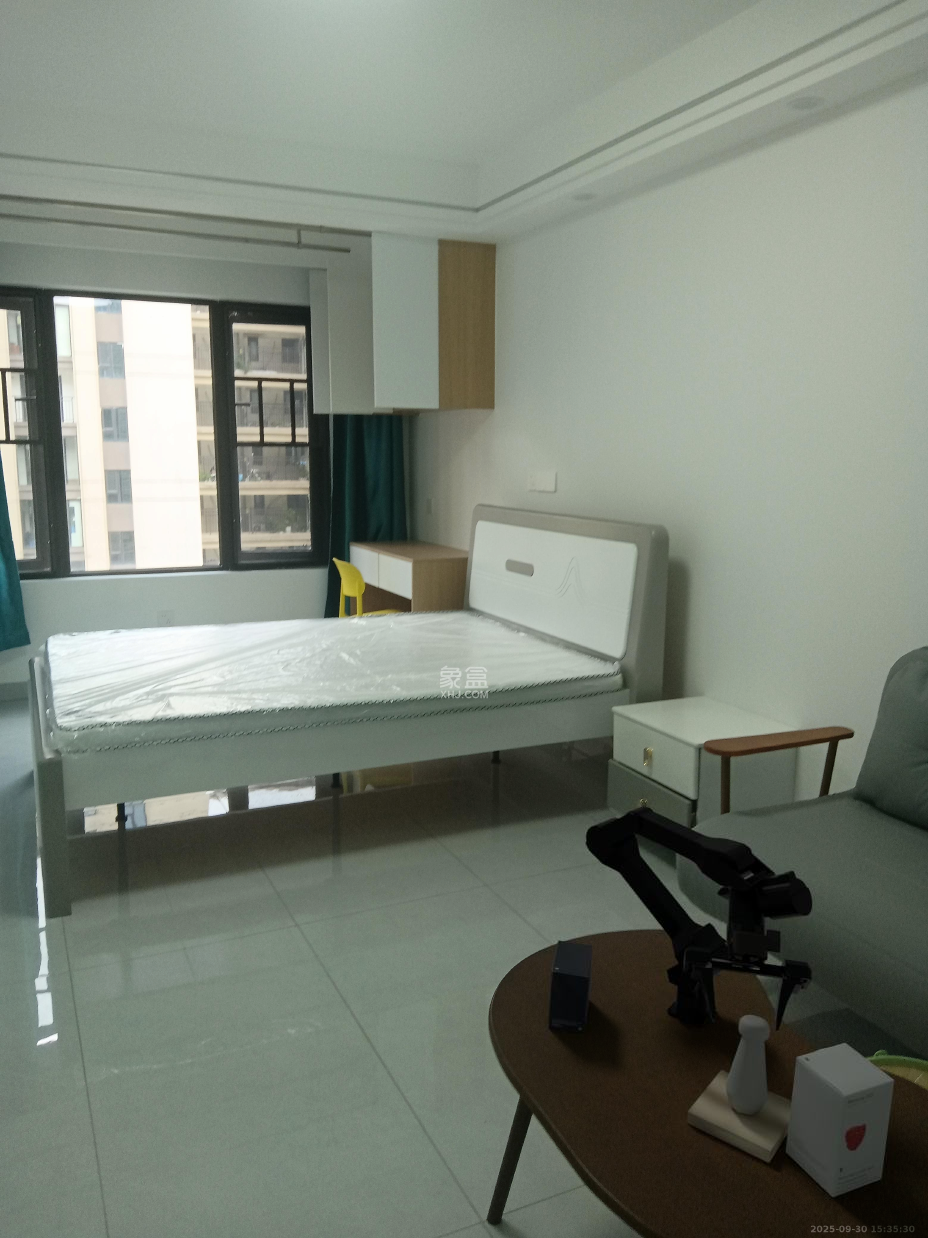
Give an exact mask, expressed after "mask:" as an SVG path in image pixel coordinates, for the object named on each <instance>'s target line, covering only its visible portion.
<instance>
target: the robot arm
mask: <svg viewBox="0 0 928 1238" xmlns="http://www.w3.org/2000/svg"><path fill="white" fill-rule="evenodd" d="M637 835H639V836H641V837H643V838H645V839H646V840H648V841H651V842H653V843H655V844H658V846H661V847H663V848H665V849H667V850H668V851H669V850H670V852H673V853H675V854H676V855H679V856H681V857H683V858H686V859H687V860H689V861H690V862H693V863H694V864H695V865H696V866H697V868H698V870H699V871H700V872H701V873H702V875H704V876H705V877H707V878H708V879H710V880H711V881H713V882H714V883H715V884H717V885H718V886H721V887H720V888H719V889H718V890H717V892H716V893H717V895H718V896H719V897H721V898H723V899H725V900H727V902H728V904H727V905H728V906H727V909H728V910H727V911H728V912H727V938H724V937H722V936H721V935H720V934H719V932H718V931H717V929H716V928H715V926H714V925H713V924H712V923H711V922H708V923H707V924H704V925H701V924H700V923H697V922H695V920H693V919H692V918H691V916H690V915H689V913H687V911H686V910H685V909H684V907H683V906H682V905H681V903H679V902H678V900H677V899H676V898H675V896H674V895H673V894H672V892H671V891H670V890H669V889H668V888H667V886H666V885H665V884H664V883H663V882H662V880H661V879H660V878H659V876H657V874H656V873H655V872H654V870H652V868H651V866H650V865H649V864H648V863H647V862H646V861H645V859H644V858H643V856H642V855H641V852H640V845H639V842H638V838H637V837H636V836H637ZM585 846H586V848H587V849H588V851H589V852H590V853H591V854H592V855H593V856H594V857H595V858H596V859H597V860H598V861H599V863H601V864H602V865H604V866H605V867H607V868H610V869H611V870H613V871H615V872H617V873H618V874H620V875H621V877H622V878H623V879H624V881H625V882H626V883H627V885H628V886H629V887H630V888H631V890H632V891H633V892H634V893H635V895H636V897H638V899H639V900H640V901H641V903H642V904H643V905H644V906H645V908H646V909H647V910H648V911H649V913H650V914H651V915H652V917H653V918H654V919H655V921H657V923H658V924H659V925H660V927H661V928H662V929H663V930H664V932H665V933H666V935H667V936H668V937H669V939H670V941H671V944H672V949H673V954H674V958H675V960H676V962H677V963H675V964H674V965H672V966H671V967H669V968H667V970H666V974H667V978H668V982H669V984H670V983H671V984H673V985H675V986H676V987H675V988H676V990H675V1000H674V1001H673V1002H672V1003H671V1005H670V1006H669V1007H667V1009H666V1013H668V1014H670V1015H672V1016H675V1018H676V1017H677V1018H679V1019H681V1020H683V1021H685V1022H686V1021H687V1022H688V1023H691V1024H693V1025H695V1026H699V1027H703V1026H704V1025H705V1024H706V1023H707V1022H708V1020H710V1019H711V1022H715V1021H716V1013H717V1006H716V1000H715V999H716V998H715V997H716V996H715V987H714V979H715V978H716V977H719V976H720V975H721V974H722V973H723V972H730V973H731V972H732V973H739V974H743V975H753V976H759V977H766V978H772V979H779V982H780V984H779V986H778V988H777V995H776V1005H775V1006H776V1007H775V1017H774V1030H775V1032H779V1030H780V1026H781V1024H782V1021H783V1018H784V1015H785V1011H786V1008H787V1005H788V1003H789V1001H790V998H791V996H792V995H799V992H800V991H801V990H807V989H808V988H809V986H810V984H811V983H812V981H813V978H812V977H813V973H812V967H811V965H810V964H809V963H808V962H807V961H801V960H794V959H785V958H784V959H783V961H782V963H781V965H778V964H770V963H766V962H767V961H768V958H769V952H770V953H771V952H772V953H778V954H779V953H780V952H781V945H782V944H781V943H782V941H781V940H782V939H781V935H782V934H781V930H776V929H769V928H768V929H766V918H769V919H770V920H772V921H778V920H779V921H780V920H786V919H792V918H794V919H795V918H800V917H807V916H809V915H810V914H811V912H812V910H813V897H812V893H811V891H810V887H807V884H806V883H805V882H804V881H803V880H802V879H801V878H799V877H797V876H796V873H795V871H794V870H788V871H785V872H783V873H780V874H776V872H774V870H772V869H771V868H770V867H769V866H768V865H766V864H765V863H764V862H763V861H762V860H761V859H759V857H757V856H756V855H755V854H754V853H753V850H752V849H751V848H750V846H749V845H747V844H745V843H743V842H742V841H741V842H739V841H736V840H734V839H733V840H732V839H730V838H724V837H711V836H708V835H704V834H703V833H700V832H698V831H696V830H694V829H692V828H690V827H688V826H686V825H684V824H682V823H678V822H677V821H674V820H672V819H671V818H668V817H666V816H664V815H662V814H660V813H657V812H656V811H654V810H653V809H652V808H650V807H648V806H644V805H643V806H640V807H636V808H634V809H632V810H631V809H630V810H629V811H627V812H626V813H625V814H623V815H622V816H621V817H619V818H618V817H612V818H609V819H607V820H604V821H602V822H599V823H597V824H595V825H591V826H590V827H589V828H588V829H587V831H586V834H585Z"/></svg>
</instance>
